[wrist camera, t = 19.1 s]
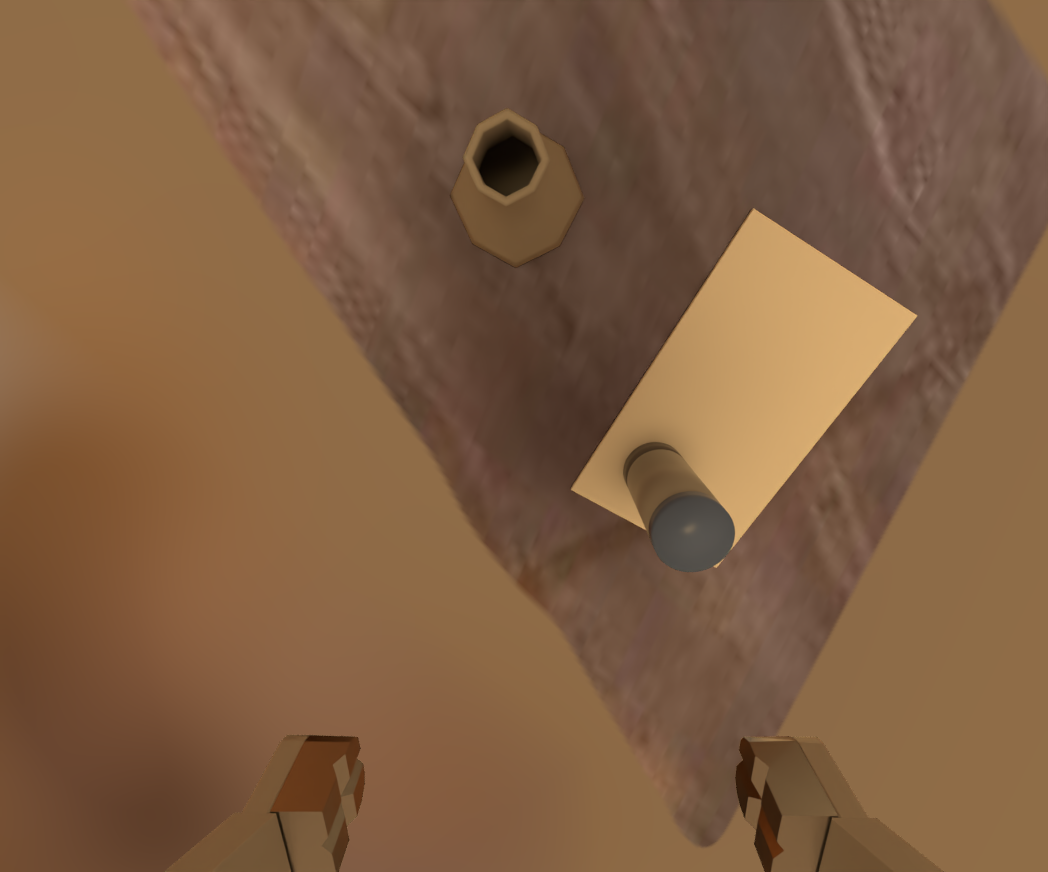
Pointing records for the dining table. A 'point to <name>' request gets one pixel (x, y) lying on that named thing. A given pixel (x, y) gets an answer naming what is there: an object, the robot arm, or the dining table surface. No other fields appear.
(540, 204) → the flask
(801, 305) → the paper
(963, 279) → the dining table surface
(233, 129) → the dining table surface
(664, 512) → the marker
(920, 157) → the dining table surface
